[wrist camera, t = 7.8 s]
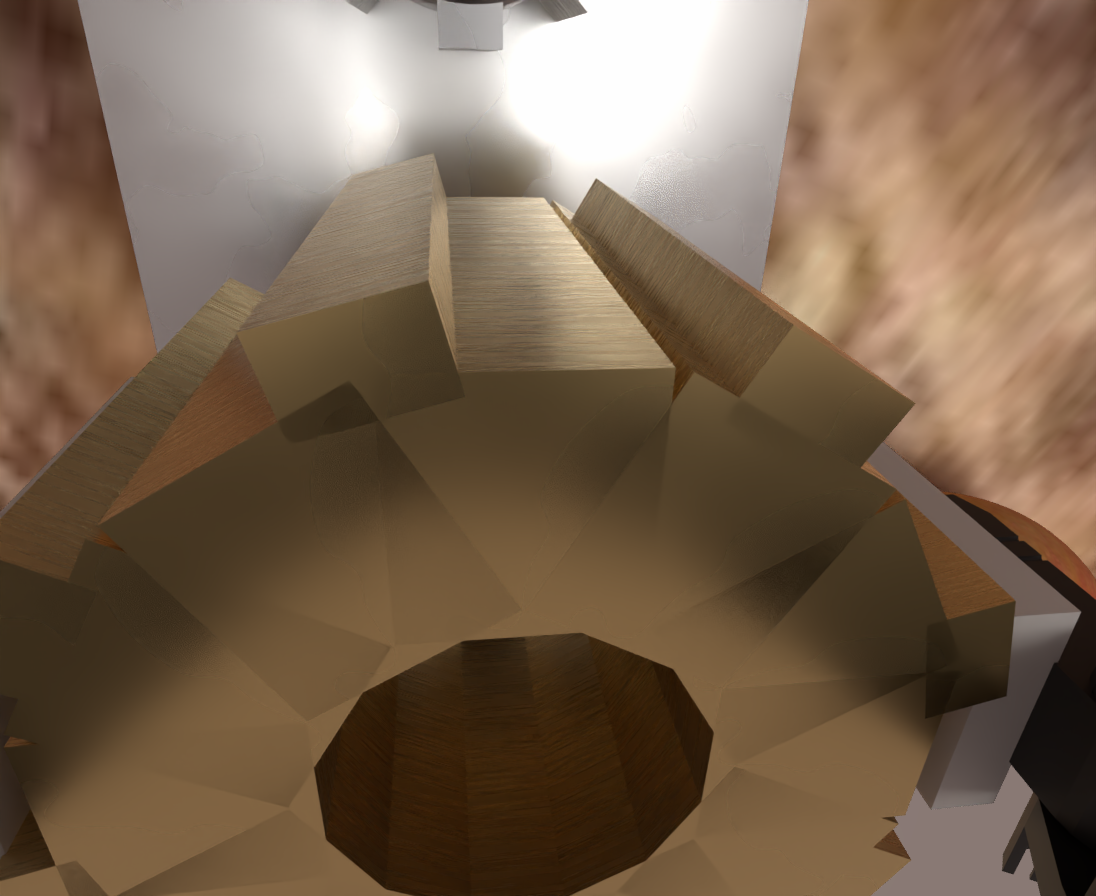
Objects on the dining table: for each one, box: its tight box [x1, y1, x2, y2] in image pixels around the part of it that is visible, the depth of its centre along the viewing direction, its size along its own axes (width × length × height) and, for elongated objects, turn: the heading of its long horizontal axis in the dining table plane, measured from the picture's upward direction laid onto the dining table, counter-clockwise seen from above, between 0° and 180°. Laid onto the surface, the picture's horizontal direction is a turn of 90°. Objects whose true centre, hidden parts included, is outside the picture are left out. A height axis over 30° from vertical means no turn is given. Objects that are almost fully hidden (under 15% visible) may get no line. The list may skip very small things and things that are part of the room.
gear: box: [0, 153, 1016, 896], centre depth 10 cm, size 9×9×7 cm
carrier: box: [78, 0, 809, 354], centre depth 14 cm, size 16×14×7 cm
